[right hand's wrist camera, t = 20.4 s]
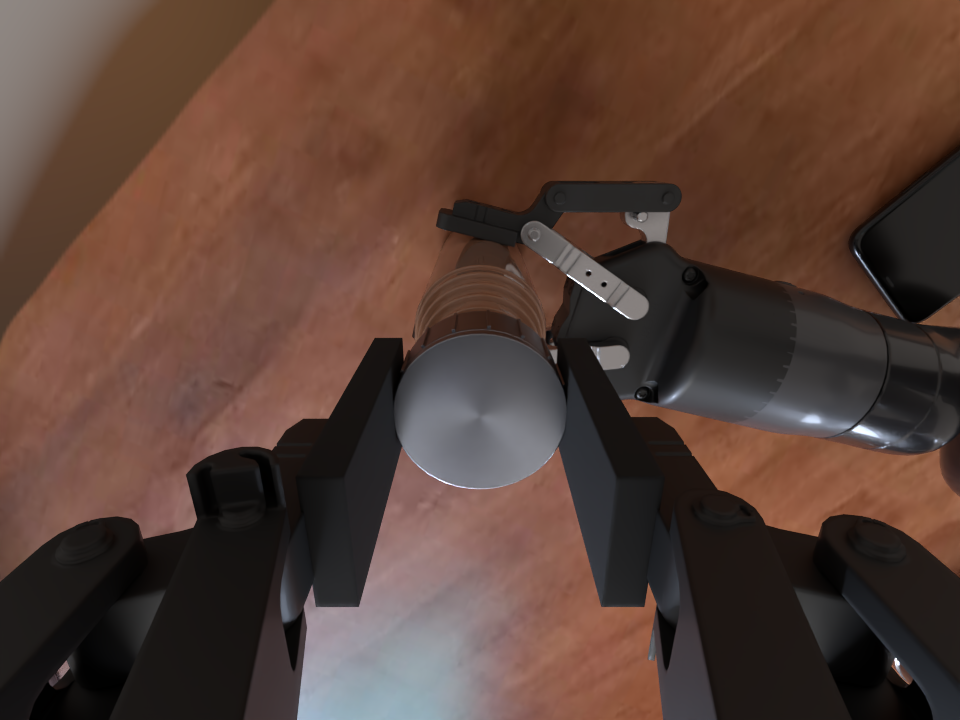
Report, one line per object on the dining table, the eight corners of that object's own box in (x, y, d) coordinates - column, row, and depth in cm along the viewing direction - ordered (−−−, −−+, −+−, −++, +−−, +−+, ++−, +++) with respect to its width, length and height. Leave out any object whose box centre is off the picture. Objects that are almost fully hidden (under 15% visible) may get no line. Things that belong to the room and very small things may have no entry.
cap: (561, 444, 15) (572, 483, 13) (414, 457, 15) (406, 497, 14) (554, 301, 14) (565, 323, 12) (390, 317, 14) (377, 342, 12)
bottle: (534, 275, 31) (603, 431, 14) (466, 313, 32) (450, 506, 15) (495, 204, 30) (516, 277, 12) (425, 247, 31) (350, 372, 13)
